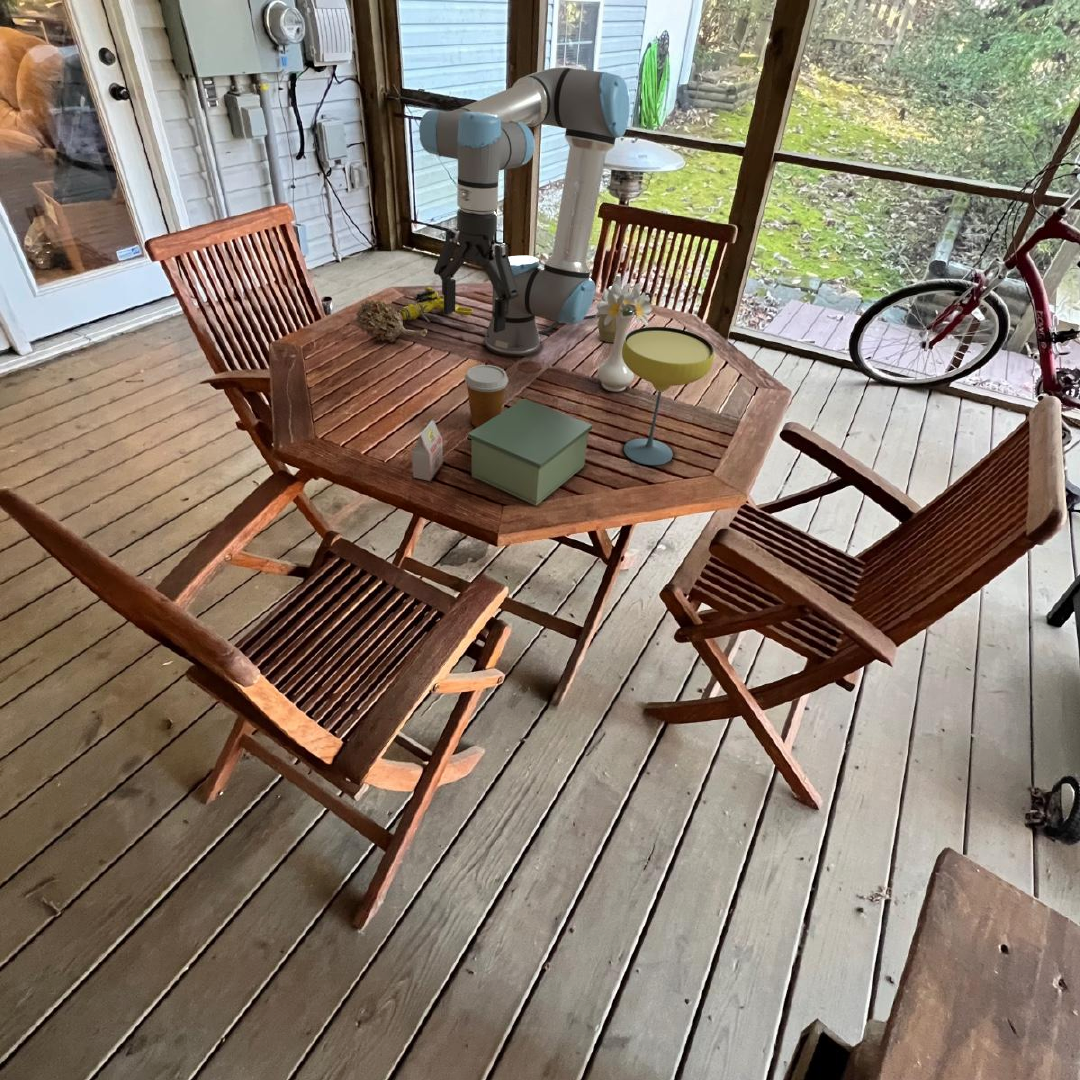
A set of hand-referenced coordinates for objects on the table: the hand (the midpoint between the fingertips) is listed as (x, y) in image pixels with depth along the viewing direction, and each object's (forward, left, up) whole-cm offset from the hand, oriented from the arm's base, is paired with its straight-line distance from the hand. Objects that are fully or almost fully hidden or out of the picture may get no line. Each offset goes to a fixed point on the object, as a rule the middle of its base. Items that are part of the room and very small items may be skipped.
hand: (473, 321), depth 141 cm
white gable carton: (+21, +5, -24) cm, 32 cm away
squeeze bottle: (-63, 0, -24) cm, 67 cm away
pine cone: (-20, -43, -24) cm, 53 cm away
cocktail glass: (-15, +37, -24) cm, 46 cm away
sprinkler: (-41, -48, -24) cm, 67 cm away
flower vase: (-38, +15, -24) cm, 47 cm away
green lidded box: (+8, +21, -24) cm, 33 cm away
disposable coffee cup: (-2, +2, -24) cm, 24 cm away
